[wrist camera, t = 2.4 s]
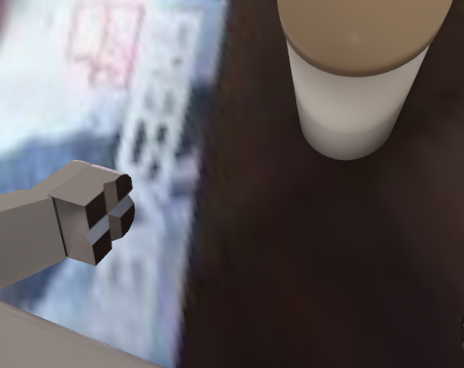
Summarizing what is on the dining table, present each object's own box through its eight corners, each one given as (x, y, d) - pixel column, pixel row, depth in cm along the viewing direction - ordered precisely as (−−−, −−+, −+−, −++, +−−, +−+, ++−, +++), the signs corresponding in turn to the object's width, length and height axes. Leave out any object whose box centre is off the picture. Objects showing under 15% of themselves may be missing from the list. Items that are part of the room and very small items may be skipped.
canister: (287, 150, 24) (257, 47, 13) (311, 65, 25) (300, -94, 14) (384, 171, 22) (435, 75, 12) (406, 80, 23) (472, -83, 13)
